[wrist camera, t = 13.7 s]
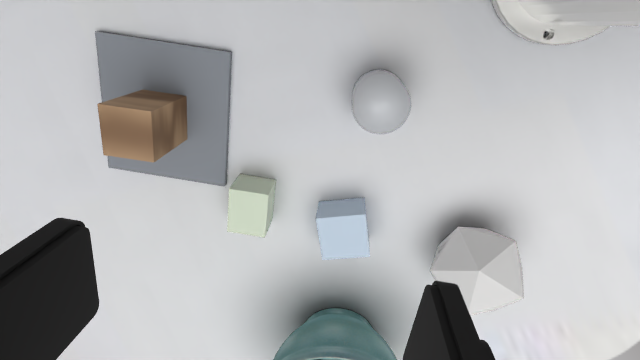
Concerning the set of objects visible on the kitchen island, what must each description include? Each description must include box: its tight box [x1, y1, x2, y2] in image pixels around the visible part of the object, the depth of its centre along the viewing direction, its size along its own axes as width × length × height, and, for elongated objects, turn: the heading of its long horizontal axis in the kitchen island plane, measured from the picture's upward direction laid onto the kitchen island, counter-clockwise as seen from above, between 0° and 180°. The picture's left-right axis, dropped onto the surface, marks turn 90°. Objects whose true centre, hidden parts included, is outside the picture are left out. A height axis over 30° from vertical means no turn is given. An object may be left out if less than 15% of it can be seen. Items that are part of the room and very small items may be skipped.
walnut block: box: [98, 90, 187, 162], centre depth 34 cm, size 4×4×7 cm
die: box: [430, 227, 524, 315], centre depth 38 cm, size 8×9×10 cm
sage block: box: [227, 174, 276, 238], centre depth 39 cm, size 5×4×4 cm
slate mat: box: [95, 31, 232, 186], centre depth 38 cm, size 14×13×1 cm
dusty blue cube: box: [316, 198, 370, 260], centre depth 40 cm, size 5×5×4 cm
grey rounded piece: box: [352, 69, 411, 134], centre depth 34 cm, size 5×5×4 cm
